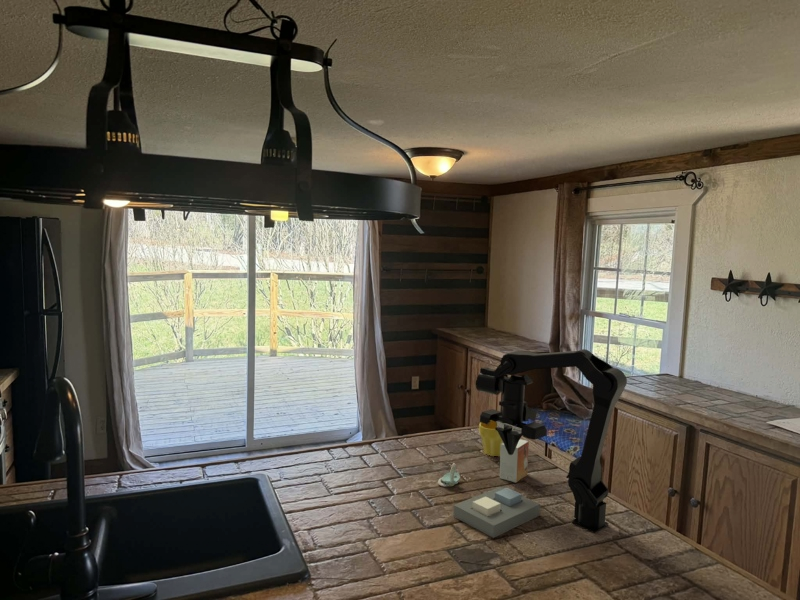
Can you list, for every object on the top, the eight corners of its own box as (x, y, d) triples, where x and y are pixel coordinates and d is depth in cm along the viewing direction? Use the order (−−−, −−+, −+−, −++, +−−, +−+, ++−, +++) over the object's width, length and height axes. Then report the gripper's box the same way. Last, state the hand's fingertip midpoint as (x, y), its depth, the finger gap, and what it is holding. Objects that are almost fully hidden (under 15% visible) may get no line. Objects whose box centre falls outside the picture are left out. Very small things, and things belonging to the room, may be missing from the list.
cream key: (500, 513, 136) (500, 503, 136) (487, 519, 133) (487, 509, 133) (485, 506, 140) (485, 496, 140) (472, 511, 137) (472, 501, 137)
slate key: (521, 503, 142) (521, 494, 141) (509, 509, 139) (509, 499, 138) (506, 497, 145) (506, 487, 145) (494, 502, 142) (495, 492, 142)
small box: (516, 483, 159) (517, 448, 158) (498, 478, 163) (500, 443, 162) (527, 474, 166) (529, 440, 165) (510, 470, 169) (512, 436, 168)
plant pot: (491, 461, 176) (492, 431, 175) (472, 450, 185) (473, 422, 184) (516, 455, 181) (517, 426, 180) (496, 445, 190) (497, 418, 189)
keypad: (539, 515, 140) (540, 504, 140) (493, 537, 129) (493, 525, 128) (500, 497, 150) (500, 486, 150) (453, 516, 139) (453, 505, 138)
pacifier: (435, 488, 156) (457, 490, 154) (435, 466, 155) (457, 468, 154) (440, 477, 163) (460, 479, 161) (440, 457, 162) (460, 458, 161)
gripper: (560, 401, 146) (557, 458, 147) (505, 386, 160) (503, 438, 161) (535, 408, 139) (532, 468, 140) (479, 392, 153) (477, 446, 154)
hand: (510, 454), depth 149 cm, fingers closed
